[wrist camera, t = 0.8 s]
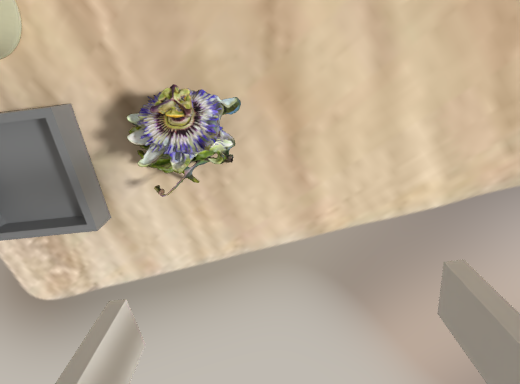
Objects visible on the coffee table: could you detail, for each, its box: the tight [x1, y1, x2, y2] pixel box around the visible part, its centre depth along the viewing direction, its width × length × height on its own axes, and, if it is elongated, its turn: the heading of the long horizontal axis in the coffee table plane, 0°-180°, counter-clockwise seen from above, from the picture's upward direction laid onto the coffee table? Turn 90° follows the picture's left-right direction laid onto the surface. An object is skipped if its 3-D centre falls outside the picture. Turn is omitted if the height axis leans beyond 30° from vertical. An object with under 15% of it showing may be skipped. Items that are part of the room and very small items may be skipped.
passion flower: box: [127, 85, 241, 197], centre depth 32 cm, size 11×11×12 cm
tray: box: [0, 104, 111, 241], centre depth 36 cm, size 15×15×4 cm
